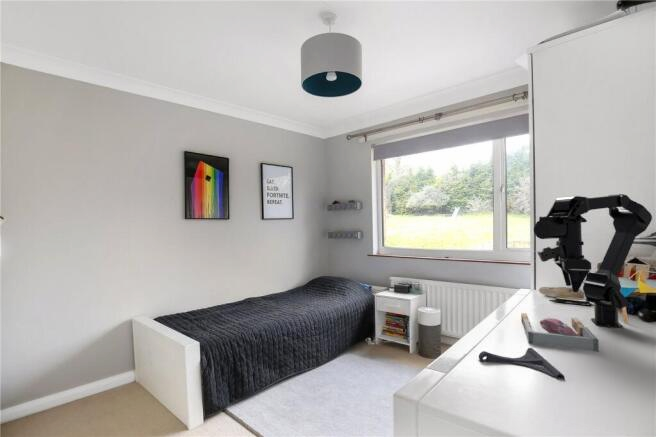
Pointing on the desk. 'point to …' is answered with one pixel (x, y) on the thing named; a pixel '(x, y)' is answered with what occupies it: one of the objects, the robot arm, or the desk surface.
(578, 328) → the pair of wooden bars
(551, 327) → the video game controller
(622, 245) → the robot arm
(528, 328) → the grey u-shaped frame
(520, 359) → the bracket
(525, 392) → the desk surface
